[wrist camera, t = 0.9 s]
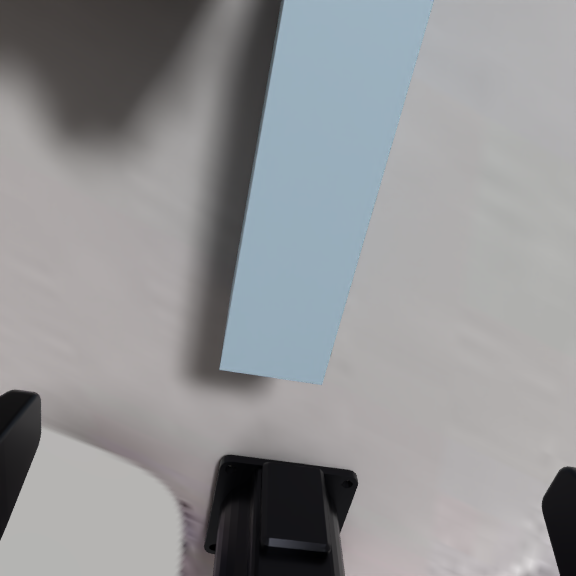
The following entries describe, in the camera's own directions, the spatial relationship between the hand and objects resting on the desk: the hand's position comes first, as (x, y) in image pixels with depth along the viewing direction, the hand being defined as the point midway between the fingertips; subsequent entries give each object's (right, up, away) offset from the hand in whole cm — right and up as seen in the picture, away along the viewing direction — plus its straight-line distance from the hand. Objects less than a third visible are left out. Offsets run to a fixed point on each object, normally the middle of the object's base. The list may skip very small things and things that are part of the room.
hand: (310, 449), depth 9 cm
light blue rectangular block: (0, +8, +9) cm, 12 cm away
